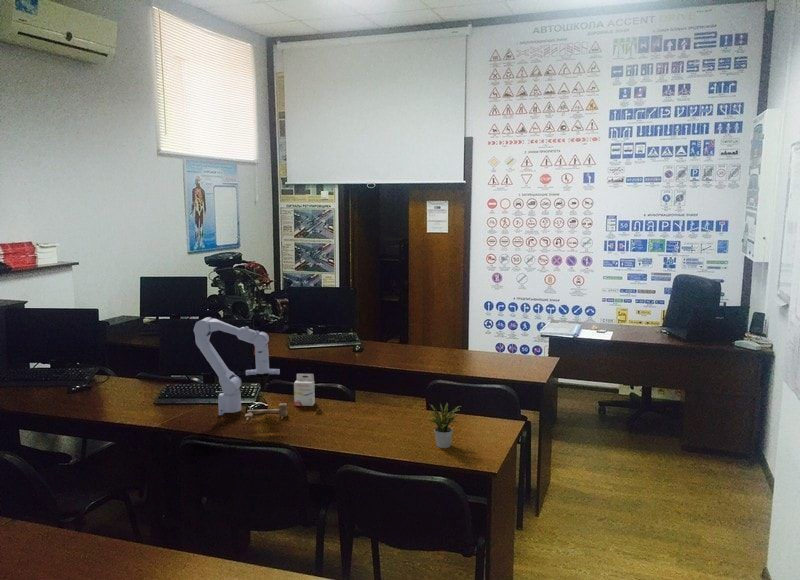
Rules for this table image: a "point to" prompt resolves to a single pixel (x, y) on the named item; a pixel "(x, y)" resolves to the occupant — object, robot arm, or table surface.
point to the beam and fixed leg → (251, 412)
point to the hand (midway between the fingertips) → (263, 390)
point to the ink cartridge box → (304, 390)
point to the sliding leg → (282, 410)
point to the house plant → (443, 426)
